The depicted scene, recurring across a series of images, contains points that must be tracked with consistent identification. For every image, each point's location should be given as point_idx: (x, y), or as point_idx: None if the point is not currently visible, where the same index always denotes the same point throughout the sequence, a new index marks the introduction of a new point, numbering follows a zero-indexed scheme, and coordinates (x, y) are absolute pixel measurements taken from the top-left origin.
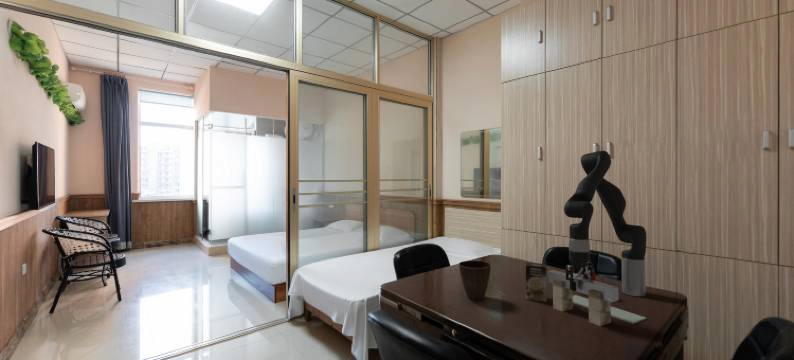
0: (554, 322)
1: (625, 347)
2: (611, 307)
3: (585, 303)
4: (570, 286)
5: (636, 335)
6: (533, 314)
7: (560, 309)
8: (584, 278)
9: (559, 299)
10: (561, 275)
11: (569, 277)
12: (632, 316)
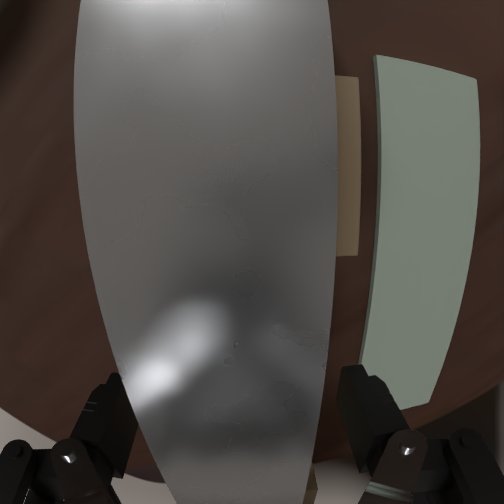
0: (43, 280)
1: (148, 468)
2: (453, 293)
3: (415, 190)
4: (89, 406)
5: None
6: (16, 163)
7: None
8: (293, 495)
9: None
10: (94, 250)
11: (29, 488)
12: (408, 386)
